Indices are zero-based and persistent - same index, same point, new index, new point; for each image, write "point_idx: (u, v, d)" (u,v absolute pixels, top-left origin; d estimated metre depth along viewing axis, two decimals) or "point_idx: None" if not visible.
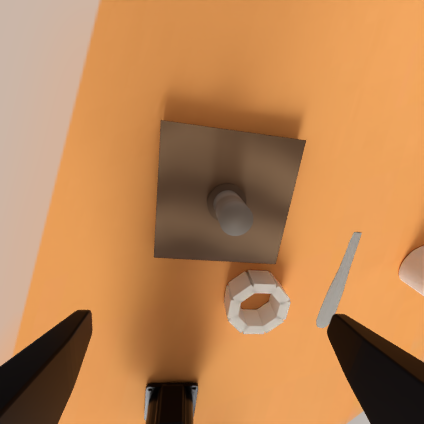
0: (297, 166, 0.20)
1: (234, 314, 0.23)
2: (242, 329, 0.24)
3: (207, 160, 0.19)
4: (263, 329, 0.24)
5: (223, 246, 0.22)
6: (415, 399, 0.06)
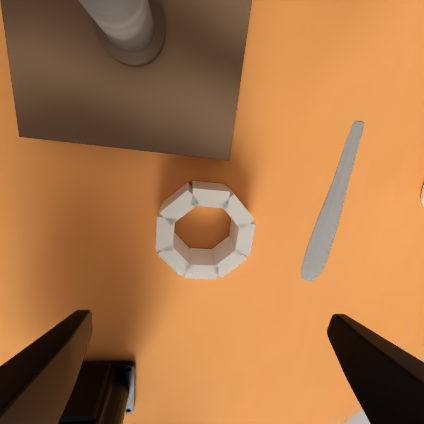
0: None
1: (166, 243, 0.15)
2: (182, 270, 0.16)
3: None
4: (215, 272, 0.16)
5: (137, 122, 0.13)
6: (415, 399, 0.06)
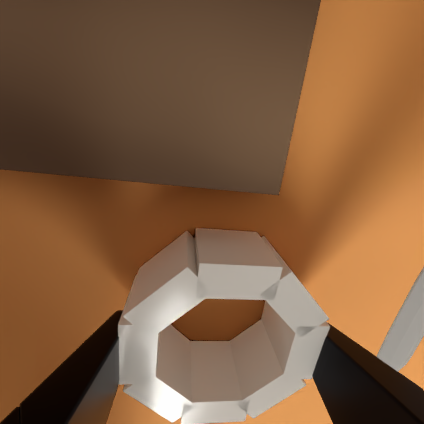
0: None
1: (141, 371, 0.07)
2: (176, 413, 0.08)
3: None
4: (243, 410, 0.08)
5: (61, 108, 0.05)
6: (372, 401, 0.06)
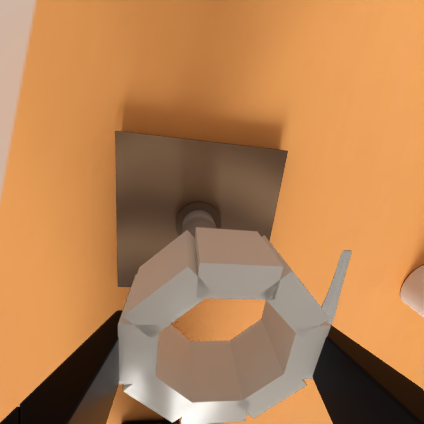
0: (279, 180, 0.17)
1: (141, 371, 0.07)
2: (176, 413, 0.08)
3: (173, 176, 0.16)
4: (243, 410, 0.08)
5: None
6: (373, 401, 0.06)
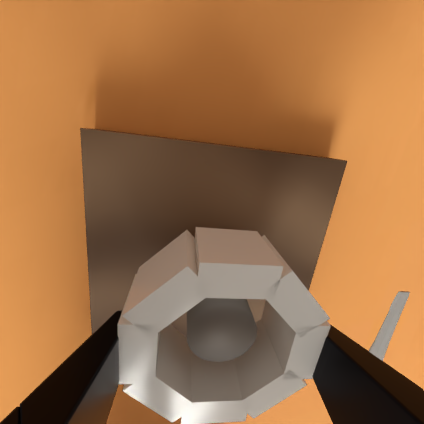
0: (330, 204, 0.12)
1: (141, 371, 0.07)
2: (176, 413, 0.08)
3: (173, 198, 0.11)
4: (243, 410, 0.08)
5: None
6: (373, 401, 0.06)
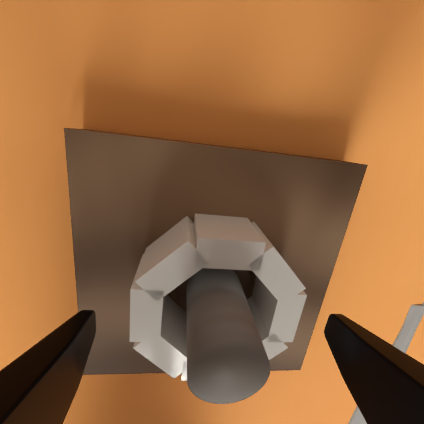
0: (347, 213, 0.10)
1: (148, 330, 0.08)
2: (177, 370, 0.09)
3: (172, 207, 0.09)
4: None
5: None
6: (411, 399, 0.06)
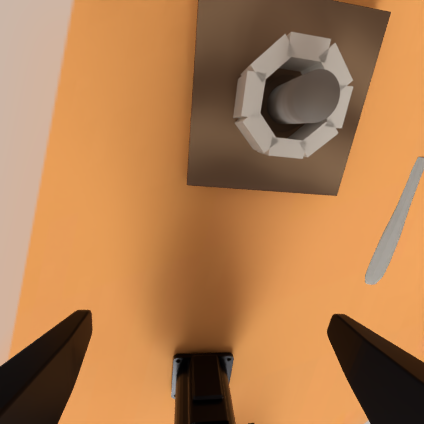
0: (376, 52, 0.15)
1: (253, 107, 0.13)
2: (267, 145, 0.14)
3: (260, 40, 0.14)
4: (302, 149, 0.14)
5: (273, 170, 0.17)
6: (415, 399, 0.06)
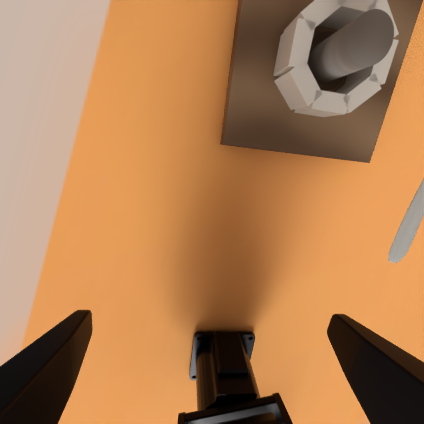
0: (415, 15, 0.15)
1: (301, 57, 0.13)
2: (311, 97, 0.14)
3: None
4: (345, 103, 0.14)
5: (309, 133, 0.17)
6: (415, 399, 0.06)
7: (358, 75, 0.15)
